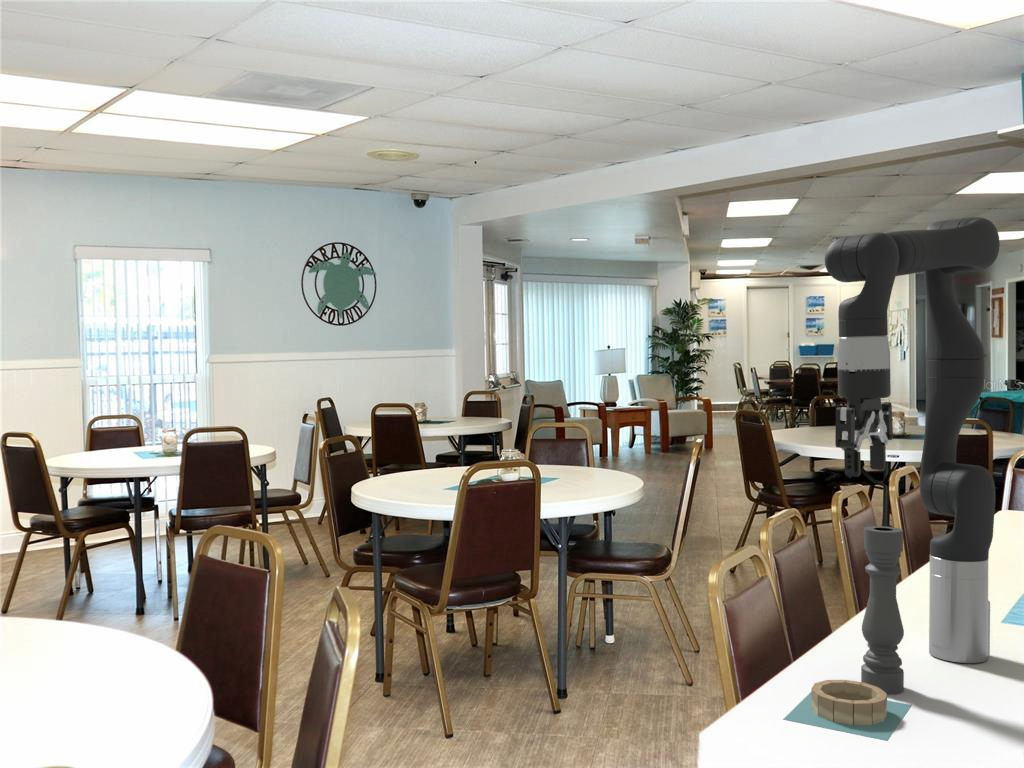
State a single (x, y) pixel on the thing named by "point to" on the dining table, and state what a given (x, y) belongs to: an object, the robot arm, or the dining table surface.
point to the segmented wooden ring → (849, 702)
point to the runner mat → (877, 731)
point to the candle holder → (883, 610)
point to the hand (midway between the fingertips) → (865, 472)
